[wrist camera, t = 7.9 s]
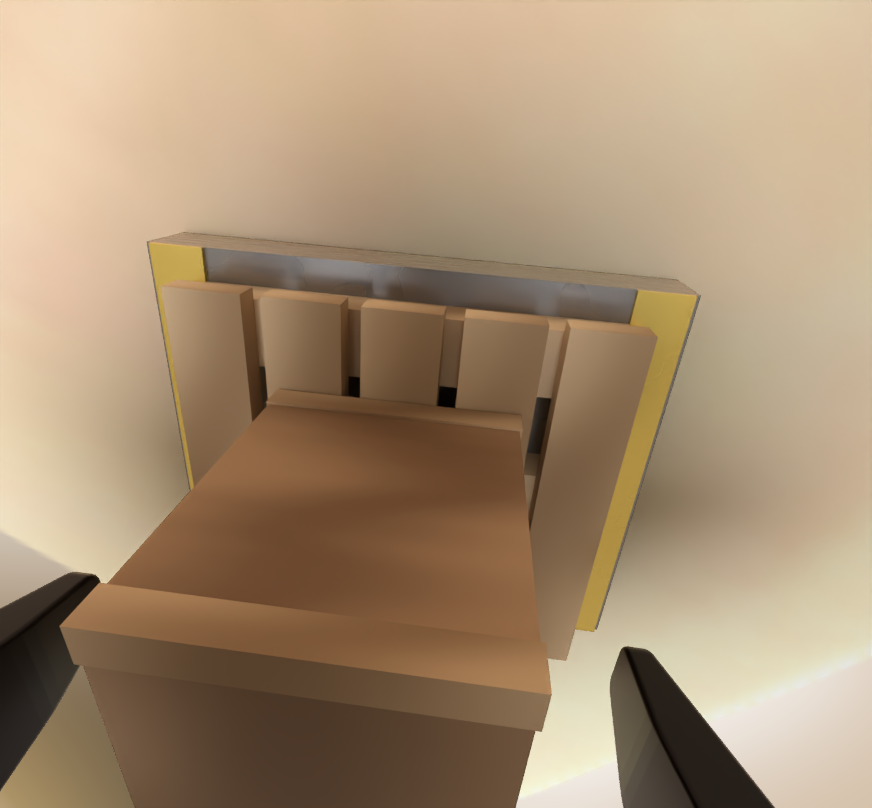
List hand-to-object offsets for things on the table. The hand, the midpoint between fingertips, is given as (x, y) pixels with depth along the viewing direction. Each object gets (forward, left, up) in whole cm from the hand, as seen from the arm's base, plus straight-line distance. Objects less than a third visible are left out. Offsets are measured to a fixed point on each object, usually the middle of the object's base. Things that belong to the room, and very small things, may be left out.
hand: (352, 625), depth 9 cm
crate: (0, 0, -4) cm, 4 cm away
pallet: (0, 0, -5) cm, 5 cm away
